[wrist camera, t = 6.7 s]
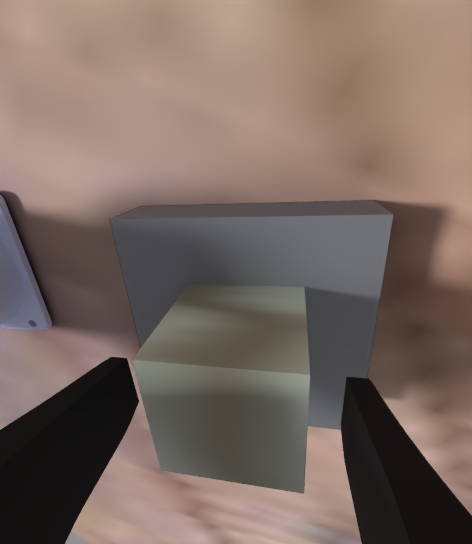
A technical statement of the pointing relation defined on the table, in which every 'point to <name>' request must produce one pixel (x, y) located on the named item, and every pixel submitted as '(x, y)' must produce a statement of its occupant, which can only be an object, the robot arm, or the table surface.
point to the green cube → (230, 385)
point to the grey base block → (269, 272)
